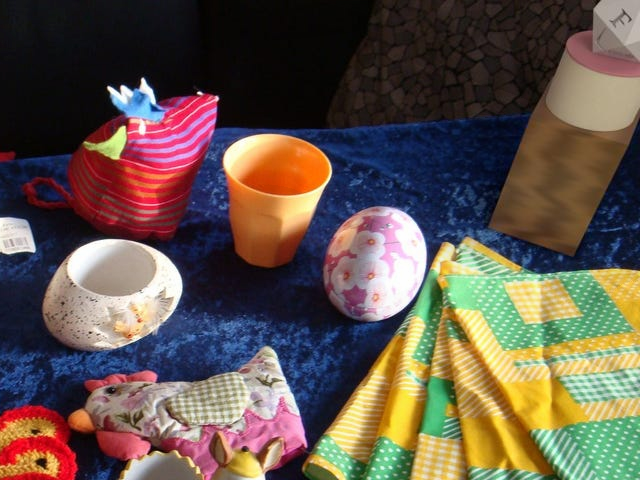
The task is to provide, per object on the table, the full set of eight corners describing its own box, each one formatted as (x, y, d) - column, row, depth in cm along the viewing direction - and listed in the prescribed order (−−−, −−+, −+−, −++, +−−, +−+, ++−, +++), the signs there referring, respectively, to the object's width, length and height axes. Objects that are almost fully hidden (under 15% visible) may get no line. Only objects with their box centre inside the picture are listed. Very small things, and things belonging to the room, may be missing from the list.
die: (564, 37, 97) (582, -11, 88) (634, -10, 96) (660, -64, 86) (610, 91, 95) (633, 48, 86) (683, 44, 94) (715, -5, 84)
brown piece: (590, 213, 113) (646, 100, 100) (571, 259, 107) (628, 144, 94) (509, 187, 117) (553, 75, 104) (486, 230, 110) (530, 116, 98)
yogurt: (642, 100, 100) (669, 44, 95) (625, 141, 94) (654, 84, 89) (555, 77, 104) (577, 22, 99) (534, 115, 98) (556, 58, 93)
